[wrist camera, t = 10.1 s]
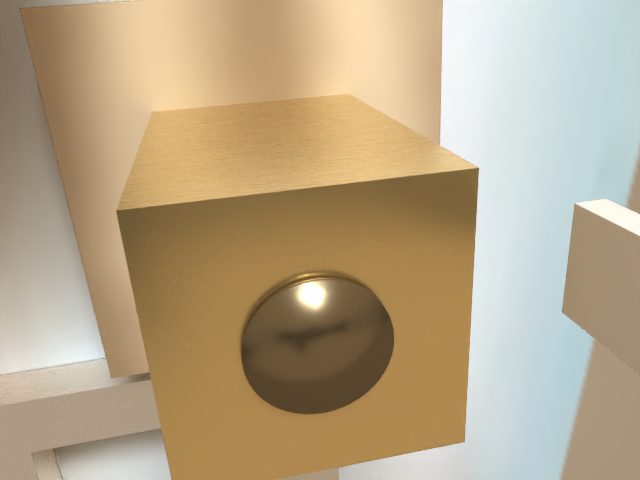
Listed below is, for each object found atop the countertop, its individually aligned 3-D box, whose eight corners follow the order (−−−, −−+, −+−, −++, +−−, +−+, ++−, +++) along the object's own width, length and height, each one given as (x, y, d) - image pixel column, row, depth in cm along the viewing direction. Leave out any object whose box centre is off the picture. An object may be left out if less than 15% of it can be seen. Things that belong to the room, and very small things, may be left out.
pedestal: (120, 333, 23) (111, 378, 20) (45, 7, 18) (19, 8, 15) (409, 288, 25) (436, 324, 22) (409, -17, 20) (442, -20, 17)
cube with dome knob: (182, 291, 19) (175, 507, 11) (152, 111, 17) (114, 214, 9) (355, 266, 20) (468, 448, 12) (348, 93, 18) (484, 171, 10)
